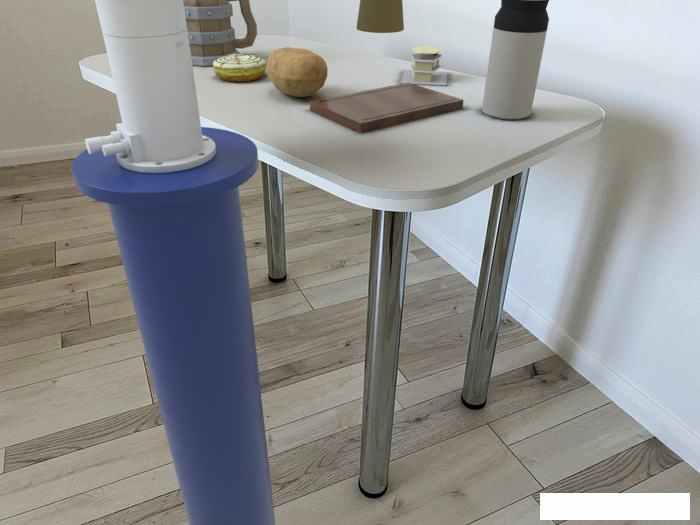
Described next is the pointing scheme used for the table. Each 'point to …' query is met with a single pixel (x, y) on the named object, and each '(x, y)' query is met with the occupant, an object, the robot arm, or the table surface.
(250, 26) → the tankard
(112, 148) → the robot arm
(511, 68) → the travel mug
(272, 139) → the table surface
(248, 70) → the decorated donut
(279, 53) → the potato
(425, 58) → the stacked layers on plate
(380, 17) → the olive tapered rounded piece
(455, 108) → the cutting board
